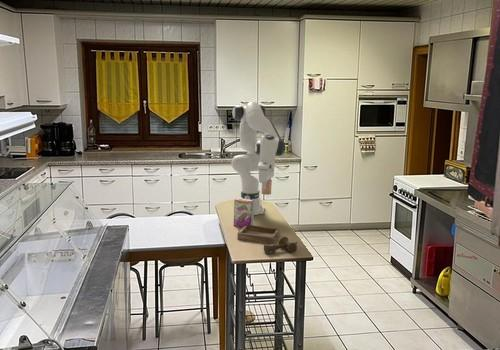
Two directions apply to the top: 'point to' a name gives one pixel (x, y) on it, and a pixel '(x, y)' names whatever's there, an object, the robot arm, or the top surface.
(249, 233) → the tray
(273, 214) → the top surface
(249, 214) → the candy bar box
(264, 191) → the peach rounded capsule
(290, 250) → the kendama
